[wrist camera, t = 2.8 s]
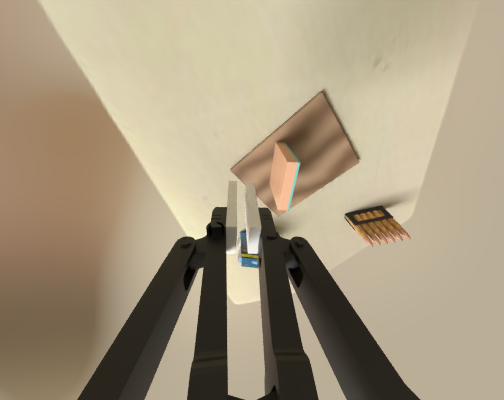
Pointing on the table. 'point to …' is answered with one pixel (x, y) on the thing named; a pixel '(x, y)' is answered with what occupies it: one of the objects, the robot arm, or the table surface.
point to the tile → (283, 175)
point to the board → (301, 153)
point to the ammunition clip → (375, 225)
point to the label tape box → (246, 253)
